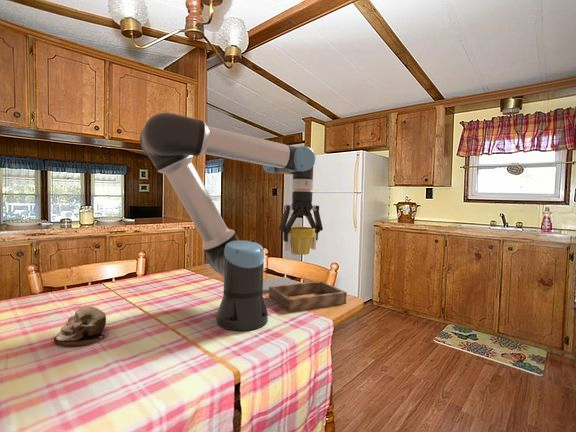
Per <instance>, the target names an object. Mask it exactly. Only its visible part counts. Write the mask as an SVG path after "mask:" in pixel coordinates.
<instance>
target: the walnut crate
mask: <svg viewBox="0 0 576 432" xmlns="http://www.w3.org/2000/svg"><path fill="white" fill-rule="evenodd" d="M297 283H298V282H297ZM313 293H322V294H315V295H309V296H300V297H293V298H291V297H289V296H298V295H305V294H313ZM347 294H348V292H347V291H345V290H342V289H340V288H338V287H335V286H333V285H331V284H329V283H327V282H324V281H323V280H319V281H309V282H301V283H298V284H289V285H280V286H271V287H269V293H268V298H269V299H271V300H272V301H273V302H274V303H276V304H277V303H278V304H277V305H279V306H280V305H281V306H282V307H281V306H280V307H281V308H283V309H284V308H285V309H286V310H285V309H284V310H285V311H287V312H288V313H292V312H293V311H294V312H300V311H305V310H311V309H318V308H325V307H330V306H337V305H343V304H347V298H348V297H347Z"/></svg>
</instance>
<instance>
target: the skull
mask: <svg viewBox="0 0 576 432" xmlns="http://www.w3.org/2000/svg"><path fill="white" fill-rule="evenodd" d="M106 324H107V315H106V312H104V311H103V310H101V309H100V308H97V307H96V306H95V307H94V306H91V305H87V306H83V307H80V308H78V309H77V310H75V312H74V315H72V316H70V317H69V318H67V321H66V323H65V324H64V325H62V326H61V328H60V332H59V333H58V334H56V335H55V336H54V337H53V342H54V343H55V344H57V345H60V346H68V347H69V346H71V347H75V346H76V347H79V346H80V347H82V346H83V345H90V344H95V343H98V342H100V341H102V340H105V339H106V338H108V337H109V335H106V334H103V333H102V332H103V331H104V328H105V327H106Z"/></svg>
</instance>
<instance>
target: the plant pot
mask: <svg viewBox="0 0 576 432" xmlns="http://www.w3.org/2000/svg"><path fill="white" fill-rule="evenodd" d="M288 233H291V235H290V252H291V253H292V254H293V255H301V256H303V255H309V254H310V251H311V243H312V239H313V238H314V237H315V228H311V226H292V227H291V229H290V231H289V232H288Z"/></svg>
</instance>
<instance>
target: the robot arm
mask: <svg viewBox="0 0 576 432" xmlns="http://www.w3.org/2000/svg"><path fill="white" fill-rule="evenodd" d="M139 143H140V147H141V149H142V151H143V153H144V154H145V155H146V157H148V158H149V159H150V160H151V162H152V164H153V166H154V168H155V169H156V170H157V173H160V174H163V175H165V176H166V178H167V180H168V181H169V183H170V185H171V187H172V188H173V189H174V191H175V194H176V195H177V197H178V198H179V200H180V202H181V204H182V205H183V207H184V209H185V211H186V212H187V214H188V215H189V216H188V217H190V219H191V221H192V222H193V225H194V226H195V228H196V230H197V231H198V233H199V235H200V237H201V239H202V240H203V243H202V250H203V251H204V254H205V255H206V257H207V262H208V264H209V265H210V267H211V268H212V270H214V271H215V272H216V273H218V274H219V275H221V276H222V277H223V296H222V299H221V301H220V304H219V308H218V309H217V313H216V324H217V325H218V326H220V327H221V328H223V329H226V330H230V331H239V332H240V331H241V332H242V331H243V332H244V331H252V330H256V329H259V328H261V327H264V326H265V325H266V324H267V323H268V319H269V318H268V317H269V313H268V309H267V305H266V302H265V299H264V295H263V294H264V293H263V279H264V269H265V268H264V267H265V264H264V263H265V251H264V247H263V246H262V245H261V244H260V243H258V242H255V241H250V240H243V239H239V237H238V235H237V234H236V232H235V230H234V229H230V228H228V226H227V225H226V223H225V221H224V219H223V218H222V215H221V214H220V212H219V210H218V208H217V207H216V204H215V202H214V201H213V199H212V197H211V195H210V193H209V191H208V189H207V187H206V186H205V184H204V182H203V180H202V179H201V176H200V175H199V173H198V171H197V170H196V167H195V166H194V163H193V158H194V157H201V156H202V155H209V156H213V157H219V158H224V159H230V160H235V161H239V162H240V161H241V162H245V163H246V162H247V163H251V164H256V165H262V168H263V170H264V172H266V173H270V174H280V175H281V174H284V175H292V190H293V191H292V193H291V194H292V197H291V200H292V203H291V204H290V205H289V204H284V206H283V208H284V209H283V214H282V218H281V220H280V224H279V227H278V231H280V232H281V233H283V239H282V240H283V242H285V243H284V244H285V245H284V250H285V251H288V252H291V246H290V235H291V233H288V232H289V231H290V229H291V227H293V225H294V223H295V222H296V220H297V218H299V217H305V218H306V219H307V221H308V223H309V227H311V228H315V237H314V238H313V239H312V243H311V247H310V250H311V249H312V250H315V251H316V249H317V241H318V240H319V233H320V232H322V231H323V229H324V227H323V224H322V219H321V215H320V206H319V205H313V203H312V202H313V192H312V191H313V187H314V186H313V185H314V166H315V165H316V155H315V152H314V150H313V149H312V148H311V147H309V146H303V145H302V146H300V145H299V146H293V145H289V144H284V143H281V142H275V141H271V140H268V139H263V138H260V137H255V136H251V135H246V134H243V133H238V132H234V131H231V130H225V129H222V128H218V127H213V126H209V125H207V123H206V121H204V120H201V119H196V118H192V117H189V116H186V115H182V114H177V113H173V112H172V113H171V112H160V113H156V114H155V115H152V116H151V117H150V118H148V120H147V121H146V123H144V127H143V128H142V130H141V132H140V136H139ZM311 210H312V211H311ZM291 211H292V212H291ZM290 212H291V214H290ZM312 213H313V214H312ZM289 216H290V218H289ZM313 216H314V218H313Z"/></svg>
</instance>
